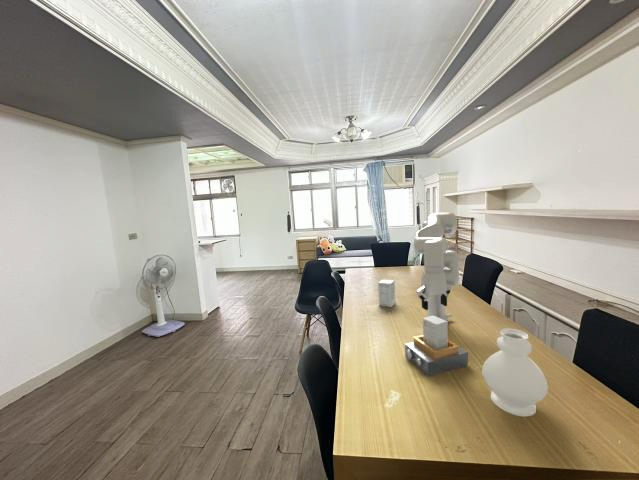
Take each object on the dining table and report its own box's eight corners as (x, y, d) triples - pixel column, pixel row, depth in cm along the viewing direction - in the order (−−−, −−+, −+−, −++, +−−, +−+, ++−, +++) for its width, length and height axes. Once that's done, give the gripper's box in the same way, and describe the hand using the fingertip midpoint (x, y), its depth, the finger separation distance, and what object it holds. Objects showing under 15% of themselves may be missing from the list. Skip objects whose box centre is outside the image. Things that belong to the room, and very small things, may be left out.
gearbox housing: (441, 347, 128) (441, 329, 127) (468, 365, 113) (468, 345, 112) (403, 356, 123) (402, 338, 122) (425, 376, 107) (425, 356, 106)
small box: (448, 349, 115) (447, 321, 114) (437, 353, 113) (437, 324, 111) (433, 341, 123) (432, 314, 121) (423, 345, 120) (422, 317, 118)
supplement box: (395, 303, 190) (395, 280, 188) (392, 307, 182) (391, 283, 180) (383, 301, 195) (382, 279, 193) (378, 305, 187) (377, 282, 185)
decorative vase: (551, 431, 79) (555, 352, 76) (481, 410, 88) (482, 340, 86) (541, 394, 94) (543, 327, 91) (482, 380, 103) (483, 318, 100)
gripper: (444, 264, 119) (444, 300, 121) (411, 269, 115) (412, 307, 117) (457, 268, 112) (457, 306, 114) (422, 273, 107) (423, 313, 110)
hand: (434, 307), depth 116 cm, fingers open, 9 cm apart
